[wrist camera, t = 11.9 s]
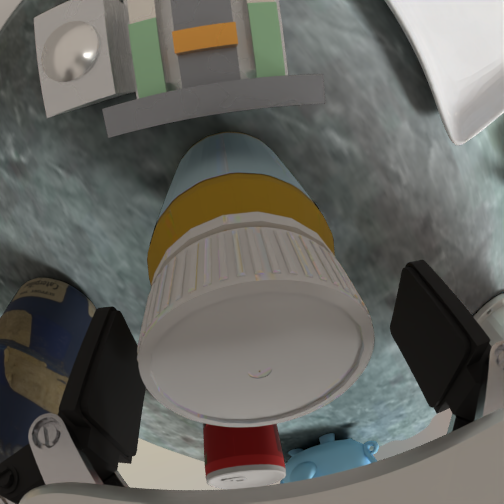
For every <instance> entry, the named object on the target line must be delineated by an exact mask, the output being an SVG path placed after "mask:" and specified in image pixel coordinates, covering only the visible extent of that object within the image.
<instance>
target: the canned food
mask: <svg viewBox="0 0 504 504" xmlns="http://www.w3.org/2000/svg"><path fill="white" fill-rule="evenodd" d="M203 434H204V457H205V472H206V480H207V484H208V485H210V486H213V487H216V488H221V489H239V488H250V487H260V486H267V485H270V484H273V483H276V482H278V481H280V480H282V479H283V478H285V476H286V468H285V463H284V457H283V452H282V448H281V443H280V438H279V433H278V428H277V424H271V425H265V426H257V427H224V426H216V425H210V424H205V423H203Z"/></svg>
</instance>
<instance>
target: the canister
mask: <svg viewBox="0 0 504 504" xmlns="http://www.w3.org/2000/svg"><path fill="white" fill-rule="evenodd" d="M95 311H96V307H95V306H94V305H93V303H92V302H91V301H90V300H89V299H88V298H87V297H86V296H85V295H84V294H82V293H81V292H80V291H78V290H77V289H75V288H74V287H72V286H71V285H69V284H67V283H64V282H62V281H59V280H56V279H51V278H35V279H32V280H30V281H28V282H26V283H25V284H24V285H22V286H21V288H20V289H19V290H18V292H17V293H16V295H15V296H14V297H13V299H12V301H11V302H10V304H9V305H8V307H7V309H6V310H5V312H4V313H3V315H2V316H1V318H0V463H1V462H3V461H4V460H6V459H7V458H9V457H10V456H11V455H13V454H14V453H16V452H17V451H19V450H20V449H21V448H23V447H24V446H26V445H27V444H29V439H28V434H29V429H30V427H31V425H32V423H33V422H34V420H35V419H37V418H38V417H39V416H41V415H43V414H47V413H52V414H56V415H58V412H59V405H60V402H61V399H62V396H63V393H64V390H65V387H66V384H67V382H68V379H69V376H70V373H71V370H72V368H73V365H74V362H75V360H76V357H77V354H78V352H79V349H80V347H81V344H82V342H83V339H84V337H85V334H86V332H87V329H88V327H89V325H90V322H91V320H92V318H93V315H94V313H95Z"/></svg>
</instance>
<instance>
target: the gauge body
mask: <svg viewBox="0 0 504 504" xmlns="http://www.w3.org/2000/svg"><path fill="white" fill-rule="evenodd" d="M123 2H124V4H123V3H121V2H120V1H119V0H69V1H67V2H65V3H63V4H61V5H58V6H56V7H54V8H52V9H50V10H48V11H46V12H44V13H42V14H40V15H38V16H36V17H35V18H34V30H35V42H36V53H37V61H38V69H39V76H40V83H41V89H42V95H43V100H44V106H45V111H46V116H47V118H49V117H53V116H56V115H59V114H63V113H66V112H70V111H73V110H77V109H81V108H84V107H87V106H90V105H93V104H96V103H99V102H102V101H105V100H109V99H112V98H115V97H119V96H122V95H126V94H129V93H133V92H136V96H137V99H139V98H143V97H147V96H151V95H155V94H160V93H164V92H169V91H173V90H178V89H183V88H182V82H181V75H180V69H179V62H178V56H177V55H176V54H175V52H174V44H173V37H172V31H174V26H173V18H172V10H171V2H170V0H123ZM230 2H231V9H232V16H233V22H236V30H237V37H238V45H237V54H238V62H239V69H240V77H241V79H250V78H260V77H271V76H286V75H288V69H287V60H286V52H285V44H284V35H283V28H282V20H281V13H280V6H279V0H230Z"/></svg>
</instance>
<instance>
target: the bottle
mask: <svg viewBox="0 0 504 504" xmlns="http://www.w3.org/2000/svg"><path fill="white" fill-rule="evenodd" d="M147 262H148V272H149V280H150V283H151V292H150V293H149V296H148V300H147V304H146V309H145V313H144V318H143V323H142V327H141V332H140V337H139V342H138V348H137V353H138V355H137V361H138V362H139V366H138V367H139V371H140V375H141V378H142V381H143V383H144V385H145V386H146V388H147V389H148V391H149V392H150V393H151V394H152V396H153V397H154V398H155V399H156V400H158V401H159V402H160V403H161V404H162V405H164V406H165V407H167V408H168V409H170V410H171V411H173V412H175V413H177V414H179V415H181V416H183V417H186V418H188V419H191V420H194V421H197V422H201V423H205V424H210V425H216V426H224V427H257V426H265V425H271V424H277V423H281V422H285V421H289V420H292V419H295V418H298V417H301V416H304V415H306V414H309V413H311V412H313V411H315V410H317V409H319V408H321V407H323V406H325V405H327V404H328V403H330V402H331V401H333V400H334V399H336V398H337V397H339V396H340V395H341V394H343V393H344V392H345V391H346V390H347V389H348V388H349V387H351V386H352V385H353V383H354V382H355V381H356V380H357V379H358V378H359V377H360V375H361V374H362V373H363V371H364V370H365V368H366V366H367V364H368V362H369V360H370V358H371V355H372V352H373V347H374V330H373V325H372V323H371V322H372V319H371V316H370V315H369V311H368V309H367V307H366V306H365V304H364V302H363V300H362V299H361V297H360V295H359V294H358V292H357V290H356V289H355V287H354V285H353V284H352V282H351V280H350V279H349V277H348V275H347V274H346V272H345V271H344V269H343V268H342V266H341V264H340V263H339V262H338V260H337V259H336V257H335V252H334V240H333V236H332V233H331V231H330V229H329V227H328V224H327V222H326V220H325V218H324V216H323V215H322V214H321V212H320V210H319V208H318V207H317V206H316V204H315V203H314V202H313V200H312V199H311V198H310V197H309V195H308V194H307V193H306V191H305V190H304V189H303V188H302V186H301V185H300V184H299V183H298V181H297V180H296V179H295V178H294V176H293V175H292V174H291V173H290V171H289V170H288V169H287V168H286V166H285V165H284V164H283V163H282V162H281V160H280V159H279V158H278V157H277V156H276V154H275V153H274V152H273V151H272V150H271V149H270V148H269V147H268V146H267V145H265V144H264V143H263V142H262V141H261V140H259V139H257V138H255V137H252V136H250V135H247V134H245V133H240V132H221V133H217V134H213V135H210V136H207V137H205V138H204V139H202V140H200V141H199V142H197V143H196V144H194V145H193V146H192V147H191V148H190V149H189V150H188V152H187V153H186V154H185V155H184V157H183V158H182V160H181V161H180V163H179V165H178V168H177V170H176V173H175V175H174V178H173V180H172V183H171V185H170V188H169V190H168V193H167V196H166V198H165V201H164V203H163V206H162V209H161V211H160V214H159V217H158V220H157V222H156V225H155V229H154V232H153V235H152V239H151V242H150V247H149V251H148V257H147Z"/></svg>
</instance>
